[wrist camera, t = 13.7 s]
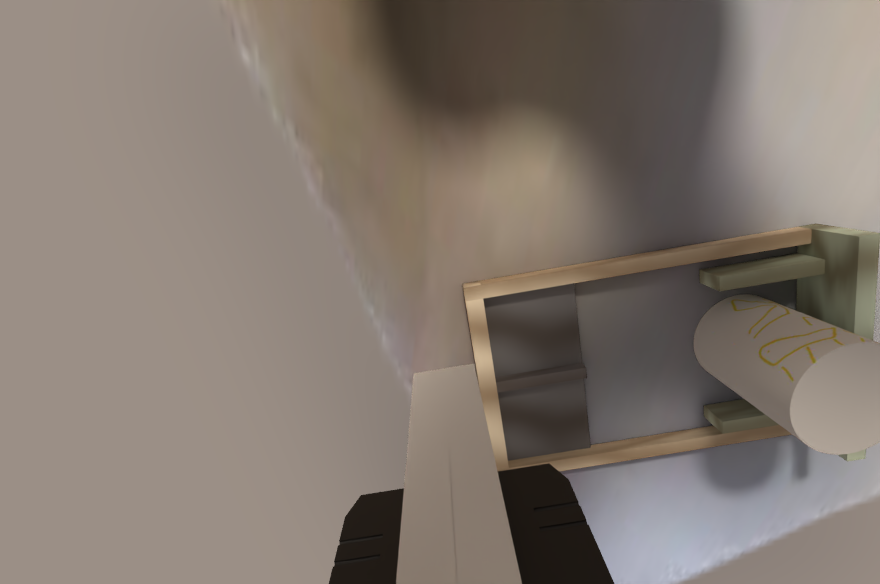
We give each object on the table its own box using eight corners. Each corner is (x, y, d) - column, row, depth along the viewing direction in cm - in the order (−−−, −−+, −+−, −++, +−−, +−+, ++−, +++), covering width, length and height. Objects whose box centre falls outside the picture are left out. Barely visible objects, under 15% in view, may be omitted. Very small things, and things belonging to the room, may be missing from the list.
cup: (786, 289, 42) (922, 335, 30) (780, 373, 44) (905, 447, 32) (694, 299, 42) (794, 349, 30) (692, 383, 44) (785, 460, 33)
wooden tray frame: (462, 283, 41) (467, 302, 36) (815, 223, 41) (880, 233, 35) (492, 471, 46) (501, 515, 40) (809, 421, 45) (865, 458, 40)
